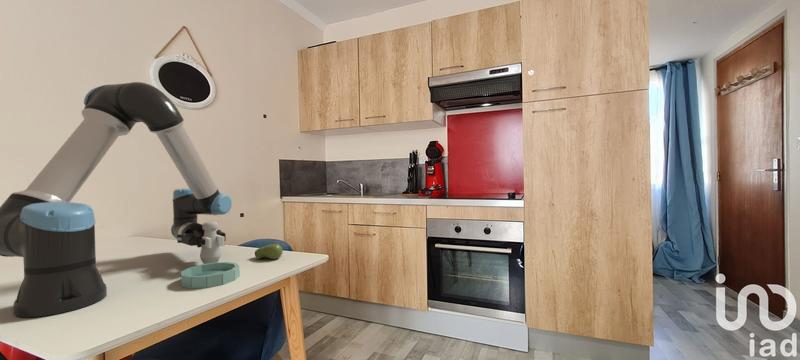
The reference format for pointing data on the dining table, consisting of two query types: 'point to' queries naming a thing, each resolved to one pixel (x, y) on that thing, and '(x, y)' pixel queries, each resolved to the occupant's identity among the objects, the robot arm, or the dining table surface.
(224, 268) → the dish
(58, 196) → the robot arm
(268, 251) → the pear
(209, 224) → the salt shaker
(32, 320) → the dining table surface
